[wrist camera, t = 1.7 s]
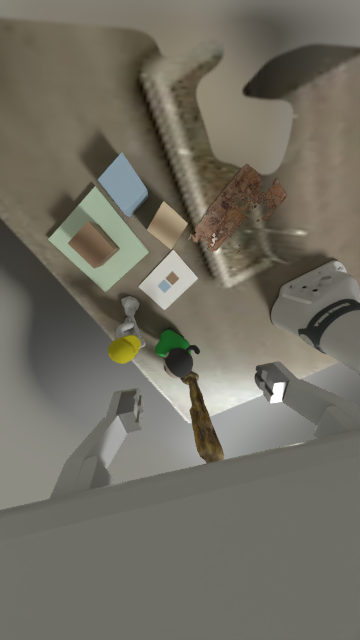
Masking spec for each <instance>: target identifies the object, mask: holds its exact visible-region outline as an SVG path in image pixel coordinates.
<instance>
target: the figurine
mask: <svg viewBox="0 0 360 640" xmlns="http://www.w3.org/2000/svg"><path fill="white" fill-rule="evenodd" d="M121 301H122V306H123V307H124V308H125V313H126V315H127V316H128V317H127V318H126V319H125V321H124V323H123V324H121V325H119V326H118V327H117V330H116V335H115V339H116V340H115V341H113V342H112V343H111V344H110V346H109V348H108V354H109V356H110V358H111V359H112V360H113V361H115V362H117V363H122V364H123V363H126V362H129V361H130V360H132V359H133V358H134V357H135V355H136V354H137V352H138V350H139V349H140V348H141V347H144V346H145V345H146V342H145V341H144V339H143V338H142V337H141V335H140V332H139V329H138V327H137V324H136V321H135V318H134V315H135V311H136V310H138V308H139V305H140V303H139V302H138V300H137V299H136V298H134V297H131V296H128V297H125V298H123V299H121ZM130 321H131V322H130ZM131 328H133V329H132V330H131ZM135 334H136V336H137V337H136V336H135Z"/></svg>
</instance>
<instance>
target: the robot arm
mask: <svg viewBox="0 0 360 640" xmlns="http://www.w3.org/2000/svg"><path fill="white" fill-rule="evenodd" d="M359 300H360V290H359V285H358V283H357V281H356V279H355V278H354V277H353V276H351V275H350V274H347V272H346V269H345V267H344V266H343V265H342V264H341V263H340V262H338V261H335V260H333V261H330V262H328V263H326V264H324V265H322V266H320V267H318V268H316V269H314V270H312V271H310V272H308V273H306V274H304V275H302V276H300V277H298V278H296V279H294V280H292V281H290V282H288V283H286V284H284V285H283V286H282V287H281V289H280V293H279V297H278V299H277V301H276V302H275V304H274V306H273V308H272V312H271V320H272V323H273V324H274V326H275V327H277V328H279V329H282V330H285V331H288V332H290V333H292V334H294V335H297V336H299V337H300V338H301V339H302V340H303V341H304V342H306V343H307V344H309V345H310V346H312V347H314V348H315V349H317V350H319V351H320V352H322V353H324V354H328V355H330V356H331V357H333V358H334V359H336V360H337V361H339V362H340V363H342V364H344V365H345V366H347V367H348V368H350V369H351V370H353V371H354V372H356V373H357V374H359V375H360V303H359ZM256 371H257V373H256V374H255V382H256V384H257V386H258V387H259V389H261V390H263V395H264V396H265V397H266V399H267V400H268V401H269V403H275V402H281V401H283V403H285V404H286V405H288V406H289V407H291V408H292V409H294V410H295V411H297V412H298V413H299V414H301V415H302V416H304V417H305V418H307V419H308V420H310V421H311V422H313V423H314V424H315V425H317V427H316V428H315V430H314V435H315V436H316V437H317V439H315V440H310V441H306V442H301V443H297V444H292V445H288V446H283V447H278V448H274V449H270V450H265V451H261V452H256V453H252V454H247V455H243V456H238V457H234V458H230V459H225V460H220V461H216V462H212V463H207V464H203V465H198V466H194V467H189V468H185V469H180V470H176V471H172V472H167V473H163V474H158V475H154V476H149V477H145V478H140V479H136V480H131V481H127V482H122V483H118V484H114V485H112V484H113V477H112V475H111V474H110V473H109V472H108V471H107V468H108V466H109V464H110V462H111V461H112V459H113V457H114V456H115V454H116V452H117V450H118V449H119V447H120V445H121V444H122V442H123V440H124V439H125V437H126V435H127V433H129V432H133V431H137V430H141V425H142V417H141V413H142V412H143V399H142V396H141V395H140V390H139V388H135V389H129V390H123V391H117V392H114V394H113V397H112V400H111V403H110V406H109V410H108V413H107V416H106V418H103V419H102V420H101V421H100V423H99V424H98V425H97V426H96V427H95V428H94V429H93V431H92V432H91V433H90V434H89V435H88V436H87V438H86V439H85V440H84V441H83V442H82V443H81V445H80V446H79V447H78V448H77V449H76V450H75V451H74V452H73V454H72V455H71V456H70V457H69V458H68V459H67V461H66V462H65V464H64V467H63V469H62V471H61V474H60V476H59V478H58V481H57V483H56V485H55V488H54V490H53V492H52V494H51V497H50V499H47V500H42V501H38V502H33V503H29V504H25V505H20V506H16V507H11V508H7V509H3V510H0V640H360V408H358V407H357V406H356V405H355V404H353V403H352V402H351V401H349V400H347V399H344V398H342V397H339V396H337V395H335V394H333V393H331V392H328V391H326V390H324V389H322V388H319V387H317V386H315V385H313V384H310V383H308V382H306V381H304V380H301V379H300V380H299V379H298V378H296V377H295V376H294V375H293V374H292V373H291V372H290V371H289V370H288V369H287V368H286V367H285V366H284V365H283V364H282V363H280V362H273V363H268V364H263V365H258V366H257V367H256Z"/></svg>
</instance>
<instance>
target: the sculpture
mask: <svg viewBox="0 0 360 640" xmlns="http://www.w3.org/2000/svg"><path fill="white" fill-rule="evenodd" d="M198 378H199V376H198V375H196V374H195V373H192V372H190V373H189V374H188V375H187V376H185V377H183V378H181V380H182V381H183V383H185V384H188V385H189V388H190V398H191V402H192V407H191V409H190V415H191V419H192V426H193V430H194V437H195V442H196V447H197V451H198V453H199V455H200V457H202V458H203V459H204V460H205V461H206V463H212V462H216V461H220V460H223V459H224V453H223V450H222V447H221V445H220V442H219V440H218V438H217V435H216V433H215V430H214V427H213V425H212V423H211V420H210V417H209V413H208V411H207V409H206V407H205V404H204V400H203V396H202V393H201V391H200V389H199V387H198V384H197V380H198Z"/></svg>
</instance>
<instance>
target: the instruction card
mask: <svg viewBox="0 0 360 640" xmlns="http://www.w3.org/2000/svg"><path fill="white" fill-rule="evenodd" d="M197 279H198V278H197V277H196V276H195V274H194V273H193V272H192V271H191V270H190V269H189V267H188V266H187V265H186V264H185V263H184V262H183V261H182V259H181V258H180V257H179V256H178V255H177V254H176V252H175V251H174V250H172V251H171V253H170V254H169V255H168V256H167V257H166V258H165V259H164V260H163V261H162V262H161V263H160V264H159V265H158V266H157V267H156V268H155V269H154V270H153V271H152V273H151V274H150V275H149V276H148V277H147V278H146V279H145V280H144V281H143V282H142V283H141V284H140V285H139V286H138V287H139V288H141V289H142V290H143V291H144V292H145V293H146V294H147V295H148V296H149V297H151V298H152V299H153V300H154V301H155V302H156V303H157V304H158V305H159V306H161V307H162V308H163V309H164V310H165V309H166V308H167V307H168V306H169V305H171V304H172V303H173V302H174V301H175V300H176V299H177V298H178V297H179V296H180V295H181V294H182V293H183V292H184V291H185V290H186V289H187V288H189V287H190V286H191V285H192V284H193V283H194V282H195V281H196V280H197Z"/></svg>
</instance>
